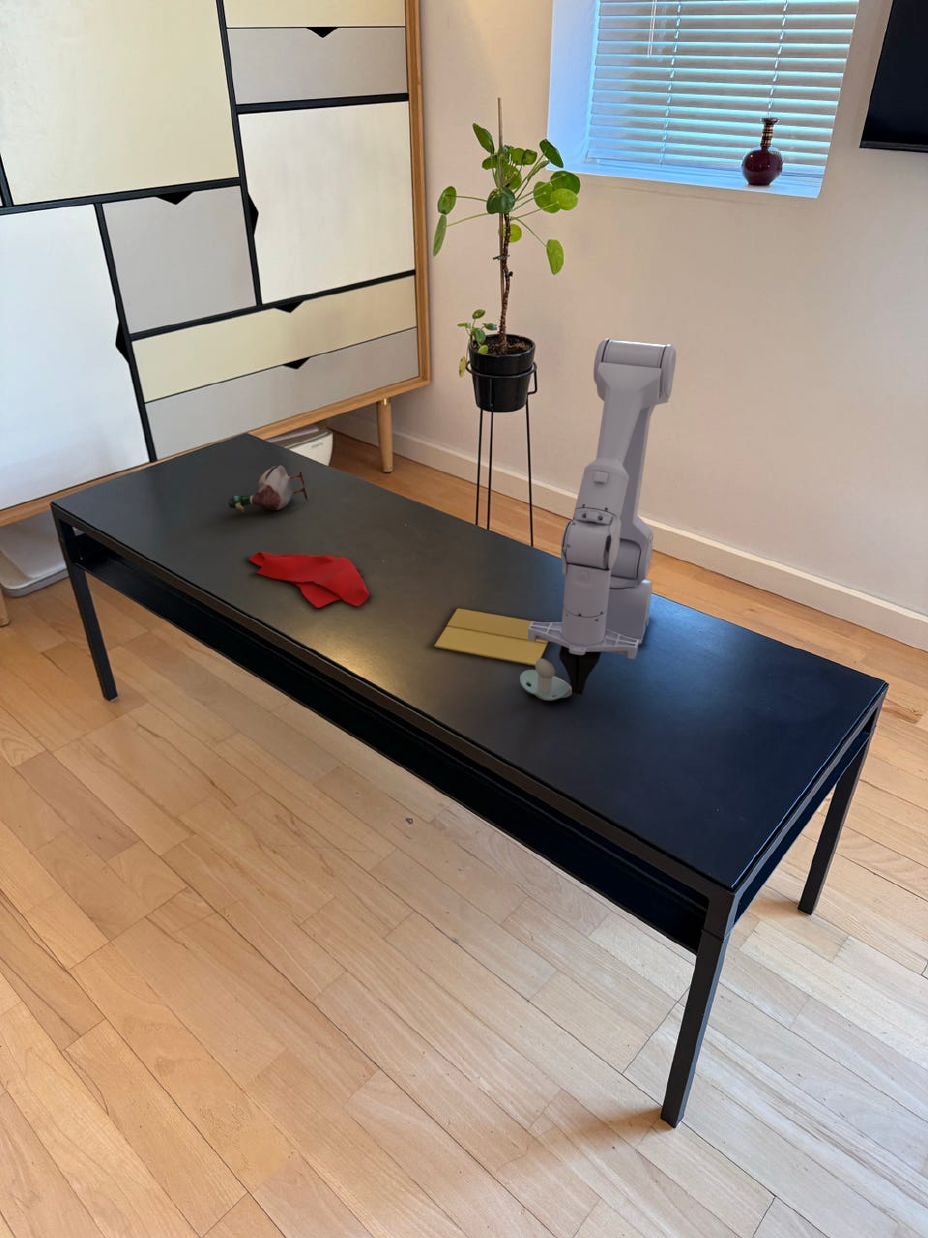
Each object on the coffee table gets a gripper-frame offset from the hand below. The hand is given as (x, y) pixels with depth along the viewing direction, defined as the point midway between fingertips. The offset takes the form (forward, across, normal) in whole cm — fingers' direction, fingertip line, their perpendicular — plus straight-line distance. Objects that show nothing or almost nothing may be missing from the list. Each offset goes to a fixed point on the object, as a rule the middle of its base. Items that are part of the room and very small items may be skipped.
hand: (578, 689), depth 122 cm
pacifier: (+2, -4, 0) cm, 4 cm away
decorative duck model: (+2, -72, +43) cm, 84 cm away
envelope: (+1, -15, +11) cm, 19 cm away
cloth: (+2, -50, +20) cm, 54 cm away
